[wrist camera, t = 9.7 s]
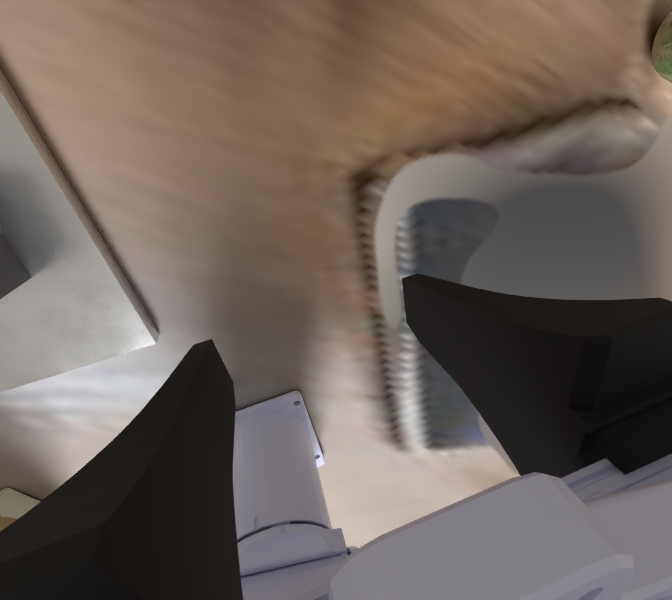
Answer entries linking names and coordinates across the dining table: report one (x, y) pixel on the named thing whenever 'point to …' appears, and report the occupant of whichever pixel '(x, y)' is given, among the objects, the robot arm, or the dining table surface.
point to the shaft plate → (56, 266)
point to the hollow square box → (10, 271)
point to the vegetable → (663, 49)
